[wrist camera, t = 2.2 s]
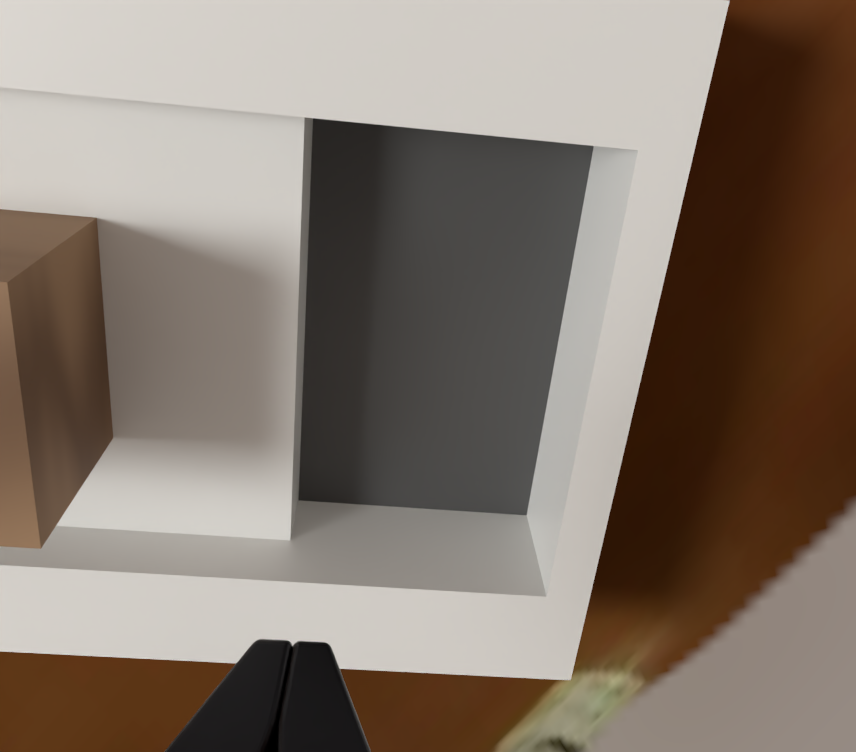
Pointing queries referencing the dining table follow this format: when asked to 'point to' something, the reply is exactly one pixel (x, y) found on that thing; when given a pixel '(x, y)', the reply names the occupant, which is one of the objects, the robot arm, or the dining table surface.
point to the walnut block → (49, 369)
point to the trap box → (351, 313)
